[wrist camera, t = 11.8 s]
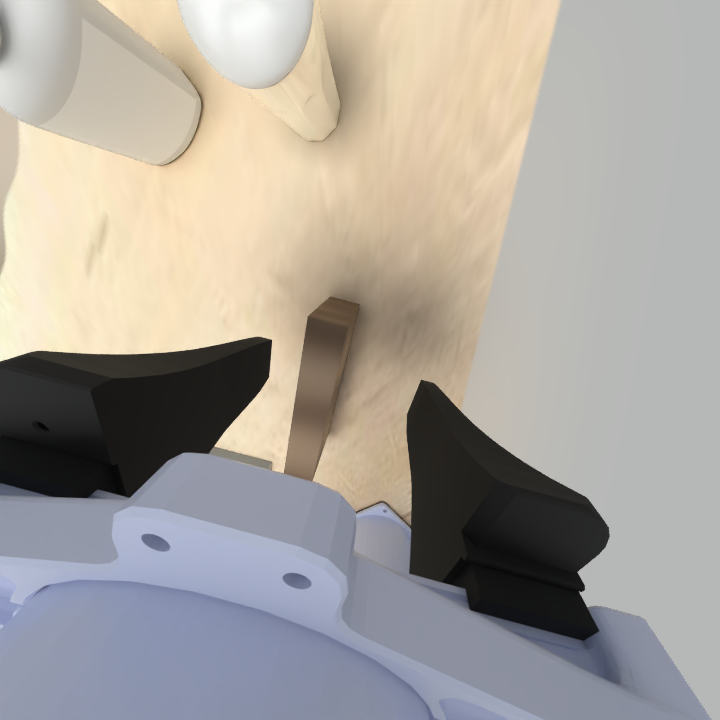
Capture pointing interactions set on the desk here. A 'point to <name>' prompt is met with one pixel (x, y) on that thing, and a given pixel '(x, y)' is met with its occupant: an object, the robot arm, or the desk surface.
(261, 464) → the tile
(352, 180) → the desk surface
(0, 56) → the eye dropper bottle
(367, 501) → the desk surface
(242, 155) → the desk surface
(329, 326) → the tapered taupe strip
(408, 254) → the desk surface
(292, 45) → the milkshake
